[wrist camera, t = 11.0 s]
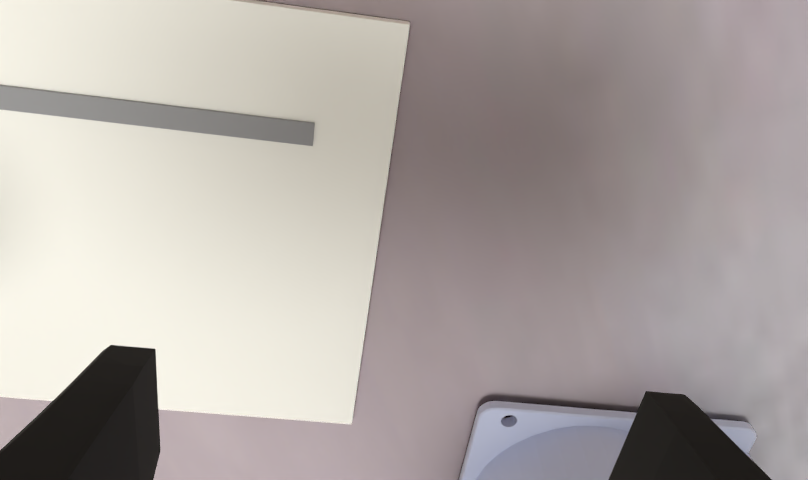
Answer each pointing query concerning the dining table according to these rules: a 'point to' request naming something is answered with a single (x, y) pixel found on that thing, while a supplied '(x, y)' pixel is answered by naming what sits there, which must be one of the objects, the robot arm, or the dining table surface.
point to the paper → (194, 196)
